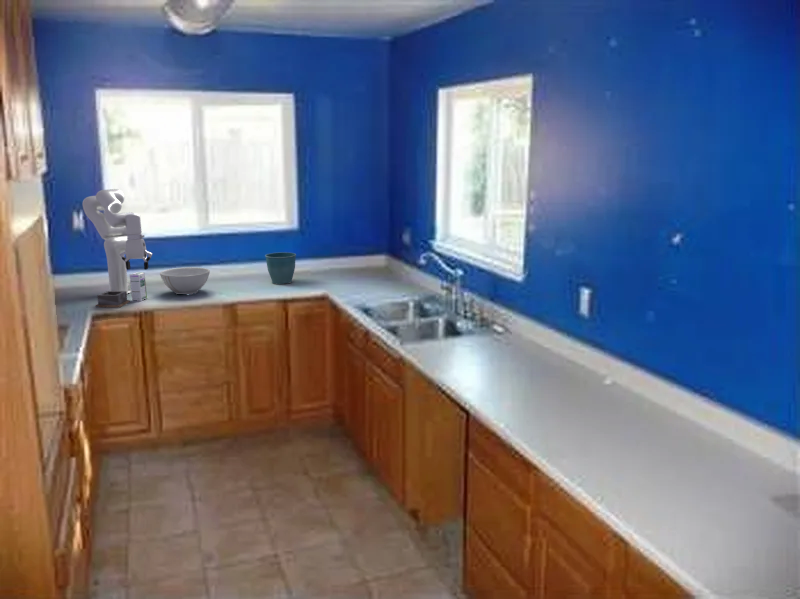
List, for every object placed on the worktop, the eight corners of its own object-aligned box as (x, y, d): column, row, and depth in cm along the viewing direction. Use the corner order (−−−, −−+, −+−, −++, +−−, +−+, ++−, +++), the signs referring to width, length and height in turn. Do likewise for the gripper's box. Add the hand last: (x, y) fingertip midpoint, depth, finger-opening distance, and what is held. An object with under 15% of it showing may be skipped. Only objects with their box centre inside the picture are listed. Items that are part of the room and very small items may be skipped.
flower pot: (272, 286, 422) (271, 258, 418) (262, 281, 437) (261, 253, 433) (301, 283, 430) (300, 255, 426) (290, 278, 446) (289, 251, 442)
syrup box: (141, 301, 385) (139, 274, 382) (131, 300, 386) (129, 274, 383) (147, 298, 390) (145, 272, 387) (137, 298, 392) (135, 272, 388)
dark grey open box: (107, 301, 384) (105, 290, 382) (130, 301, 383) (129, 290, 382) (95, 307, 372) (94, 295, 370) (119, 307, 371) (118, 296, 369)
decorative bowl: (154, 297, 393) (152, 276, 390) (170, 287, 419) (169, 267, 416) (202, 298, 392) (201, 276, 389) (216, 287, 418) (215, 267, 416)
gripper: (153, 236, 384) (156, 268, 387) (121, 236, 385) (124, 268, 388) (147, 238, 376) (150, 270, 380) (115, 238, 378) (118, 270, 381)
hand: (137, 269), depth 384 cm, fingers open, 9 cm apart
